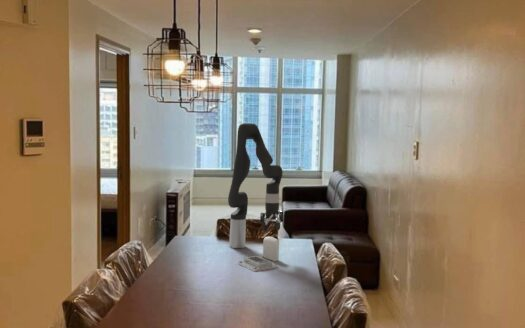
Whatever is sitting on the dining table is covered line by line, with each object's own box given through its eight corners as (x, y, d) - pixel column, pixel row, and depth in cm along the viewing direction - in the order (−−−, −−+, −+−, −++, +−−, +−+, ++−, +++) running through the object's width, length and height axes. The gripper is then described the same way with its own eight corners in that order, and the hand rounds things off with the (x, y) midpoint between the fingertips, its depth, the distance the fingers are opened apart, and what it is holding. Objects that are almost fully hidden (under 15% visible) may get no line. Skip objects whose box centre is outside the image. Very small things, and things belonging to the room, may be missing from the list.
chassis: (237, 263, 264) (237, 258, 264) (260, 259, 272) (260, 254, 272) (254, 271, 251) (254, 265, 250) (278, 267, 259) (278, 261, 259)
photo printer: (261, 257, 278) (262, 235, 277) (267, 256, 280) (268, 234, 279) (273, 261, 270) (274, 239, 269) (279, 260, 272) (280, 238, 271)
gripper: (278, 199, 280) (277, 228, 281) (257, 201, 271) (257, 230, 273) (286, 201, 274) (286, 230, 275) (265, 203, 265) (265, 233, 267)
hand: (271, 230), depth 274 cm, fingers open, 8 cm apart
